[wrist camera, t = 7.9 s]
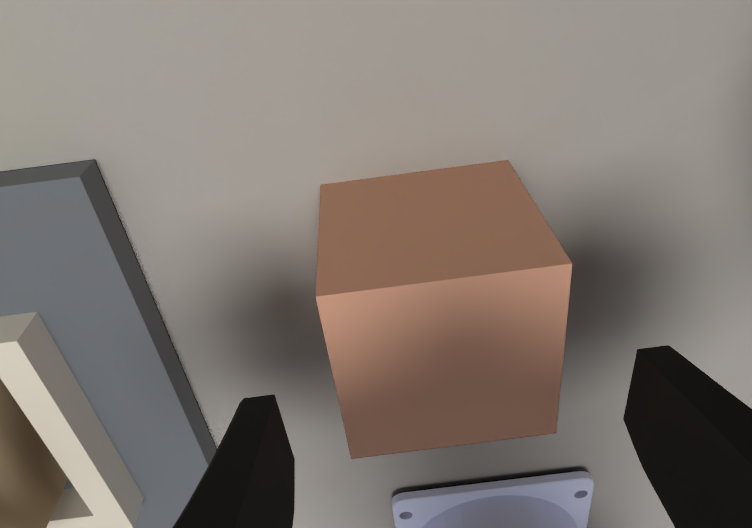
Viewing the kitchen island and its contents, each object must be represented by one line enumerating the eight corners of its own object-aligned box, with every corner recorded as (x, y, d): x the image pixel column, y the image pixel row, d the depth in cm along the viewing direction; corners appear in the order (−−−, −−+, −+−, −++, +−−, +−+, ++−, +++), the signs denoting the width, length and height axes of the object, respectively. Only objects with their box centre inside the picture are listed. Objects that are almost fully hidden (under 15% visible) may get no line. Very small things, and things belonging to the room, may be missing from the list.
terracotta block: (504, 305, 18) (556, 433, 14) (347, 325, 18) (351, 458, 14) (506, 159, 15) (572, 263, 11) (320, 183, 15) (315, 296, 11)
